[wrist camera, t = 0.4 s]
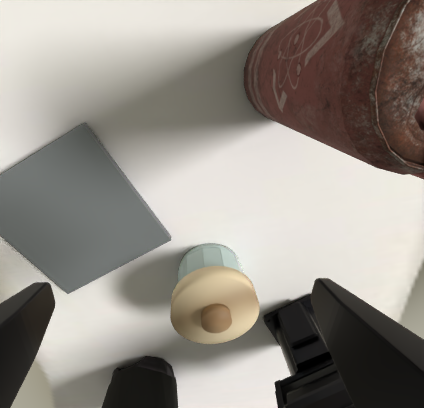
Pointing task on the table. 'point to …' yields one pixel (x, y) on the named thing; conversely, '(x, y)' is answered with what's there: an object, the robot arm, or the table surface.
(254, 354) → the table surface
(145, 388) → the portable speaker
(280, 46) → the can
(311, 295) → the robot arm
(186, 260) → the bowl
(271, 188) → the table surface
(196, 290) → the lid
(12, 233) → the mat
